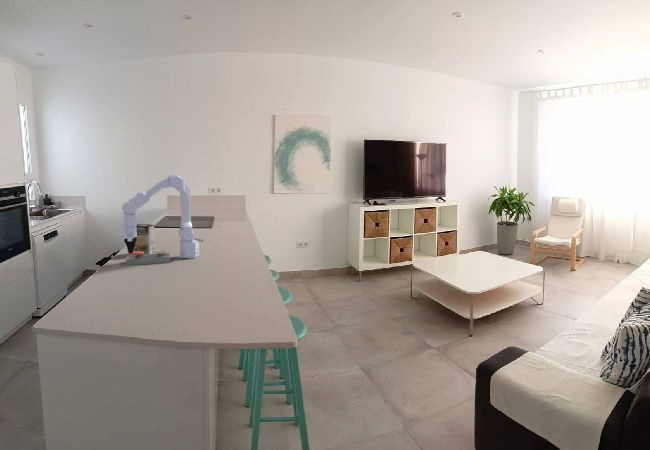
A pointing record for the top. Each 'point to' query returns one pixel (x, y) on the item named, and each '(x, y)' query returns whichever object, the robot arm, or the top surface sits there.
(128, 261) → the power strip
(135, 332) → the top surface
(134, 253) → the red rocker
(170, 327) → the top surface
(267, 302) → the top surface
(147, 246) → the coffee box
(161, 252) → the white rocker
